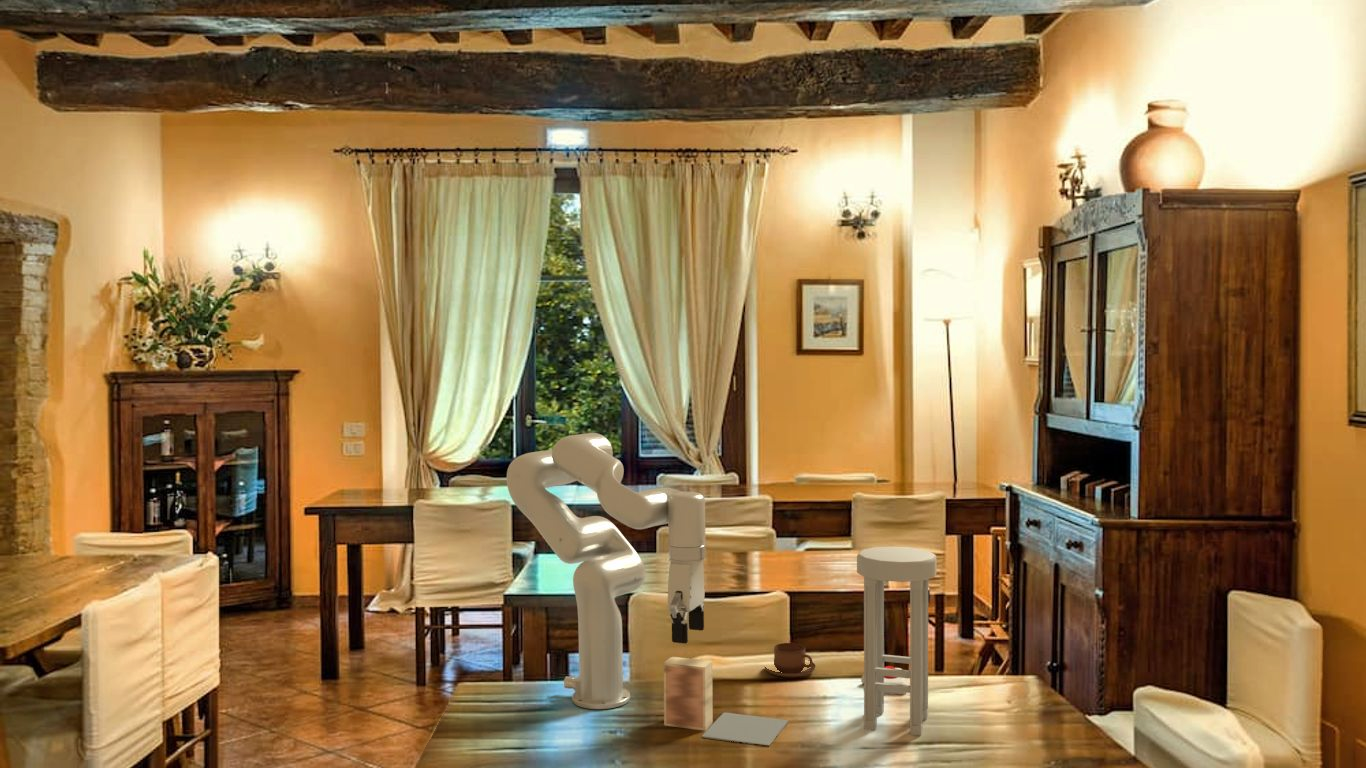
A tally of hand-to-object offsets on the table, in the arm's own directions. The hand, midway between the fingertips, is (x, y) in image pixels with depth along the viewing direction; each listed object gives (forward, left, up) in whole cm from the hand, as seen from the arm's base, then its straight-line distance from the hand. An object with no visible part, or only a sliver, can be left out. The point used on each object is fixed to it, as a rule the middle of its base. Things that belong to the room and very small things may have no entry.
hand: (688, 636), depth 219 cm
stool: (+40, +15, -19) cm, 46 cm away
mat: (+12, +1, -18) cm, 22 cm away
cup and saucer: (+11, +39, -19) cm, 45 cm away
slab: (0, 0, -18) cm, 18 cm away
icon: (+33, +37, -19) cm, 53 cm away
